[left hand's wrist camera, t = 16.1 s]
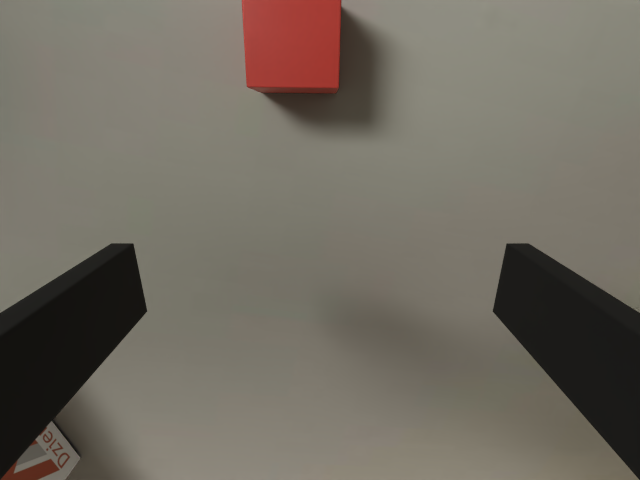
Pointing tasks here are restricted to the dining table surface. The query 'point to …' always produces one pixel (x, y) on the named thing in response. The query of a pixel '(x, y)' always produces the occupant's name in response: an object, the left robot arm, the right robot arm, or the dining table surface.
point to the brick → (292, 45)
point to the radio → (45, 458)
